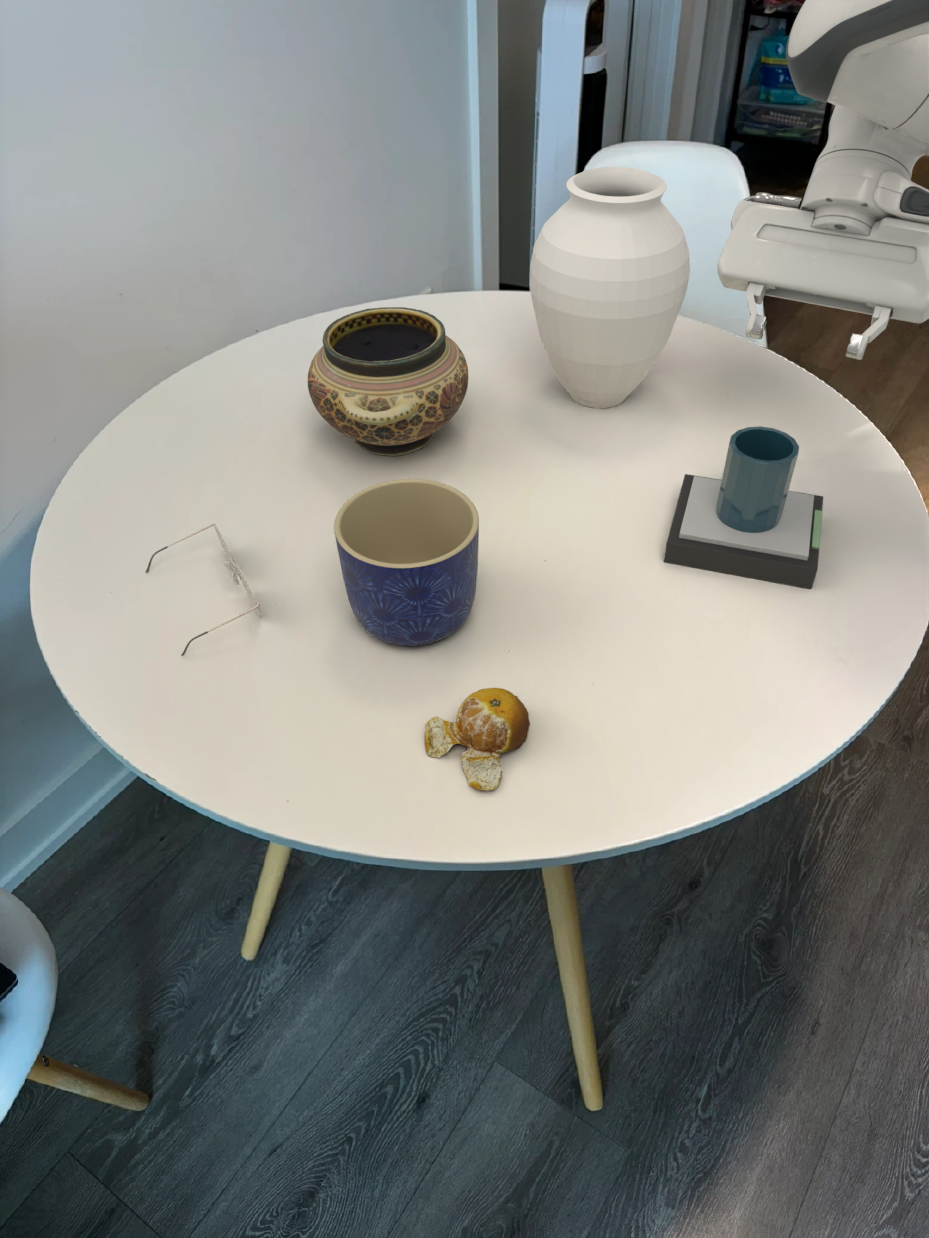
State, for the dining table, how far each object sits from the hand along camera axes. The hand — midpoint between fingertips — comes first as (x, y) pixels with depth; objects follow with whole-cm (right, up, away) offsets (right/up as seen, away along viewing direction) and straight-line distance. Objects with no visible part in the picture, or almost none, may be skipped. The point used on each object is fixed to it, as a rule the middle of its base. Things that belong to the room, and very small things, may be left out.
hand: (802, 346), depth 88 cm
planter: (-37, -25, -1) cm, 45 cm away
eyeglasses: (-57, -24, +1) cm, 62 cm away
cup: (-4, -15, +3) cm, 16 cm away
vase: (-16, +2, +27) cm, 31 cm away
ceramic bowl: (-40, -4, +21) cm, 46 cm away
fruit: (-31, -36, -12) cm, 49 cm away
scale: (-4, -18, +6) cm, 19 cm away
